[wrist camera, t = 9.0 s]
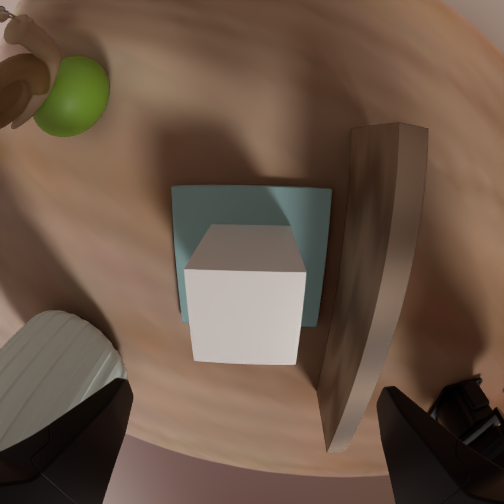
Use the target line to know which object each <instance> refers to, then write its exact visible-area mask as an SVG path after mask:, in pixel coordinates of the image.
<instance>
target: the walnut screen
mask: <svg viewBox="0 0 504 504" xmlns="http://www.w3.org/2000/svg"><path fill="white" fill-rule="evenodd" d="M427 153H428V128H424V127H420V126H416V125H411V124H406V123H401V122H396V123H388V124H380V125H373V126H366V127H359V128H353V129H351V153H350V171H349V186H348V199H347V210H346V220H345V230H344V239H343V247H342V255H341V263H340V270H339V277H338V284H337V290H336V297H335V303H334V309H333V315H332V320H331V326H330V331H329V336H328V341H327V346H326V351H325V356H324V361H323V366H322V370H321V375H320V379H319V383H318V388H317V397H318V403H319V409H320V415H321V420H322V426H323V433H324V439H325V445H326V451H327V453H334V452H343V451H346V449H347V447H348V445H349V443H350V441H351V439H352V437H353V435H354V433H355V431H356V429H357V427H358V425H359V423H360V420H361V418H362V416H363V414H364V412H365V409H366V407H367V405H368V403H369V400H370V398H371V395H372V393H373V391H374V388H375V386H376V383H377V381H378V378H379V375H380V373H381V370H382V367H383V365H384V362H385V359H386V356H387V353H388V350H389V347H390V344H391V341H392V338H393V335H394V332H395V329H396V326H397V322H398V319H399V315H400V312H401V308H402V305H403V301H404V297H405V293H406V289H407V285H408V281H409V277H410V273H411V268H412V263H413V259H414V254H415V249H416V243H417V238H418V232H419V226H420V220H421V213H422V206H423V198H424V189H425V179H426V168H427Z"/></svg>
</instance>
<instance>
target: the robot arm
mask: <svg viewBox="0 0 504 504" xmlns="http://www.w3.org/2000/svg"><path fill="white" fill-rule="evenodd" d="M481 383H482V379H481V378H477V379H473V380H470V381H466V382H463V383H459V384H455V385H451V386H447V387H446V388H444V390H443V391H442V393H441V395H440V397H439V398H438V400H437V402H436V403H435V405H434V407H433V408H432V410H431V412H430V413H429V414H428V413H427V412H425V411H424V410H423V409H422V408H421V407H419V406H418V405H417V404H416V403H415V402H413V401H412V400H411V399H410V398H409V397H407V396H406V395H405V394H404V393H403V392H401V391H400V390H399V389H398V388H397V387H395V386H389V387H384V388H383V390H382V392H381V394H380V396H379V399H378V401H377V413H378V420H379V427H380V435H381V442H382V446H383V450H384V454H385V458H386V462H387V467H388V471H389V475H390V480H391V484H392V488H393V493H394V498H395V503H396V504H504V414H503V413H502V412H501V411H500V410H499V409H498V408H497V407H496V408H495V409H493V411H492V409H491V408H490V406H489V403H490V402H489V400H488V399H487V397H486V396H485V394H484V392H483V391H482V389H481V388H480V384H481ZM132 403H133V392H132V390H131V387H130V384H129V381H128V380H127V379H124V378H115V379H114V380H112V381H111V382H109V383H108V384H107V385H105V386H104V387H102V388H101V389H99V390H98V391H97V392H95V393H94V394H92V395H91V396H89V397H88V398H87V399H85V400H84V401H82V402H81V403H79V404H78V405H77V406H75V407H74V408H72V409H71V410H69V411H68V412H66V413H65V414H63V415H62V416H61V417H59V418H58V419H56V420H55V421H53V422H52V423H50V425H47V426H46V427H44V428H43V429H41V430H40V431H38V432H36V433H35V434H33V435H32V436H30V437H28V438H26V439H24V440H22V441H20V442H18V443H16V444H14V445H12V446H10V447H8V448H6V449H4V450H2V451H0V504H102V503H103V500H104V497H105V493H106V490H107V487H108V484H109V481H110V477H111V474H112V471H113V468H114V465H115V462H116V459H117V456H118V453H119V451H120V447H121V445H122V442H123V439H124V436H125V433H126V429H127V424H128V420H129V415H130V411H131V407H132ZM498 424H501V425H500V426H498Z"/></svg>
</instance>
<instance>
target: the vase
mask: <svg viewBox="0 0 504 504" xmlns="http://www.w3.org/2000/svg"><path fill="white" fill-rule="evenodd" d="M115 378H124V379H127V380H128V378H127V371H126V368H125V365H124V363H123V362H122V360H121V357H120V355H119V353H118V351H117V350H116V349H114V347H113V346H112V343H111V342H110V341H109V339H107V338H106V336H105V335H104V334H103V333H102V332H101V331H100V330H99V329H97V328H96V327H95V326H93V325H92V324H91V323H89V322H88V321H86V320H83V319H81V318H80V317H79V316H77V315H75V314H70V313H67V312H65V311H59V310H56V311H53V310H48V311H43V312H41V313H40V314H37V315H35V316H34V317H32V318H31V319H30V320H29V321H28V322H27V323H26V324H25V325H24V326H23V327H22V328H21V329H20V330H19V331H18V332H17V333H16V334H15V335H14V336H13V337H12V338H11V339H10V340H9V341H8V342H7V343H6V344H5V345H4V346H3V347H2V348H1V349H0V451H2V450H4V449H6V448H8V447H10V446H12V445H14V444H16V443H18V442H20V441H22V440H24V439H26V438H28V437H30V436H32V435H33V434H35V433H36V432H38V431H40V430H41V429H43V428H44V427H46V426H47V425H50V423H52V422H53V421H55V420H56V419H58V418H59V417H61V416H62V415H63V414H65V413H66V412H68V411H69V410H71V409H72V408H74V407H75V406H77V405H78V404H79V403H81V402H82V401H84V400H85V399H87V398H88V397H89V396H91V395H92V394H94V393H95V392H97V391H98V390H99V389H101V388H102V387H104V386H105V385H107V384H108V383H109V382H111V381H112V380H114V379H115Z"/></svg>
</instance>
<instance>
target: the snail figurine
mask: <svg viewBox="0 0 504 504" xmlns="http://www.w3.org/2000/svg"><path fill="white" fill-rule="evenodd" d="M9 15H11V16H13V17H11V16H9ZM8 18H12V20H11V21H10V22H9V23H8V25H7V26H6V28H5V31H4V38H5V41H6V42H7V43H9V44H21V45H22V46H24V47H25V48H27V49H28V50H29V51H30V52H31V53H32V54H27V53H26V54H18V55H15V56H12V57H10V58H8V59H6V60H4V61H2V62H1V63H0V129H1V128H3V127H5V126H6V125H8V124H9V123H11V122H12V121H13V122H12V125H11V128H12V129H15V128H18V127H19V126H21V125H22V124H24V123H25V122H27V121H28V120H29V119H30V118H31V117H32V116H33V118H34V120H35V122H36V123H37V125H38V126H39V127H40V128H41V129H42V130H43V131H45V132H46V133H48V134H50V135H53V136H57V137H70V136H74V135H77V134H80V133H82V132H84V131H85V130H87V129H89V128H90V127H91V126H92V125H93V124H95V123H96V121H97V120H98V119H99V118H100V117H101V115H102V114H103V112H104V110H105V108H106V106H107V103H108V100H109V94H110V84H109V79H108V76H107V74H106V72H105V70H104V69H103V67H102V66H101V65H100V64H99V63H97V62H96V61H95V60H93V59H91V58H88V57H84V56H70V57H66V58H63V59H61V54H60V51H59V48H58V46H57V44H56V43H55V41H54V40H53V39H52V38H51V37H50V36H49V35H48V34H47V33H46V32H45V31H44V30H43V29H41V28H40V27H38V26H37V25H36V24H35V23H34V21H33V19H32V18H31V17H28V16H27V15H26V14H21V15H18V16H15V15H13V14H11V13H9V12H8V11H6V10H5V7H3V6H0V22H4V21H6V20H7V19H8Z"/></svg>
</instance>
